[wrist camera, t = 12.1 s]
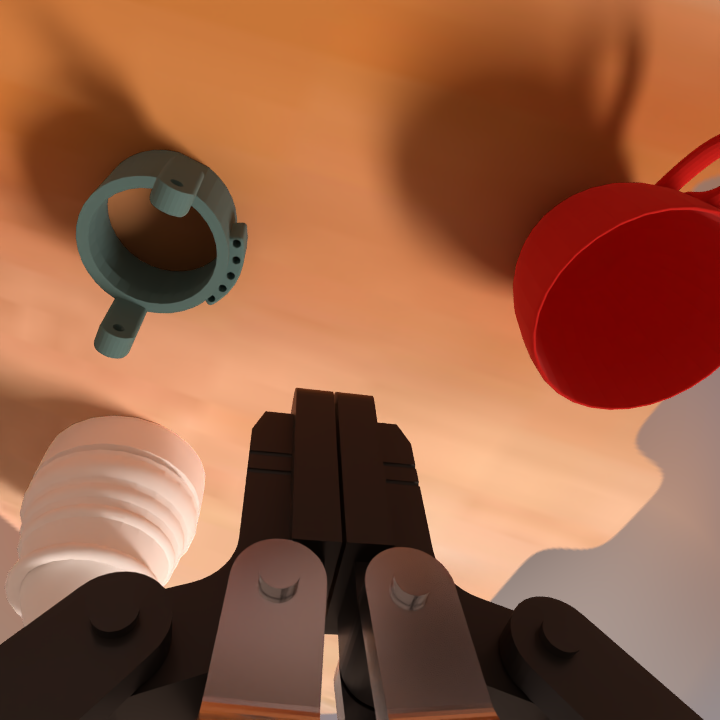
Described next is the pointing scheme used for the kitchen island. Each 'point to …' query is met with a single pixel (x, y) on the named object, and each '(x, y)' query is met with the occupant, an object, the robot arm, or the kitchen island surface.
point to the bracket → (140, 280)
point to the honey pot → (104, 510)
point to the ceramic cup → (625, 289)
